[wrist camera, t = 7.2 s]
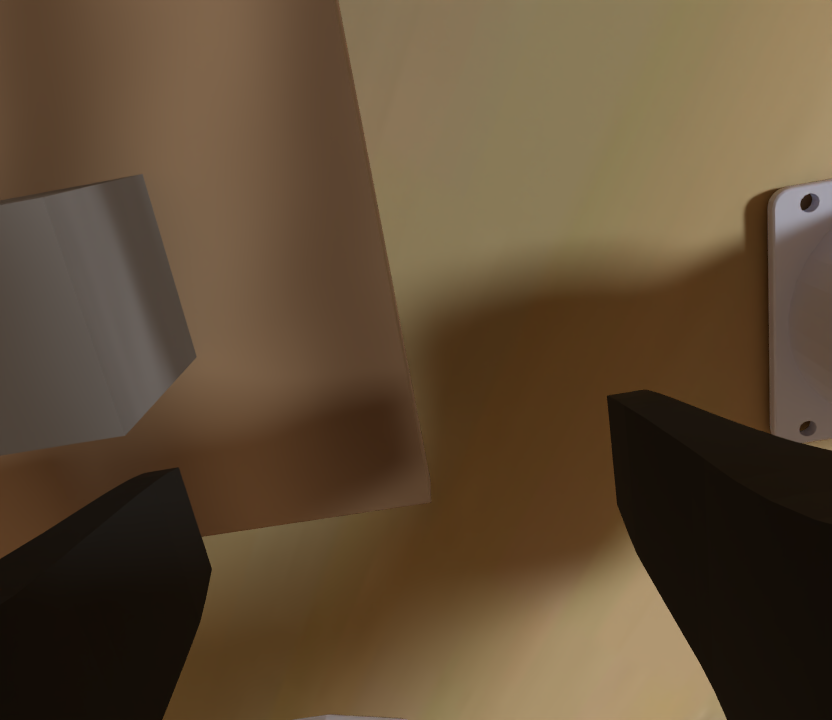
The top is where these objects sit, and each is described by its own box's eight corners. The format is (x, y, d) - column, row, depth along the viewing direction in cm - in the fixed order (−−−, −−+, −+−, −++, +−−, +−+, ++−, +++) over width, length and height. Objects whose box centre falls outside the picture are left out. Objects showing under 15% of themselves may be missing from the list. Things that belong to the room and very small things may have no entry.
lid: (316, -112, 14) (259, -229, 9) (430, 481, 18) (433, 615, 13) (-305, 20, 14) (-659, -23, 10) (-56, 555, 19) (-218, 705, 14)
